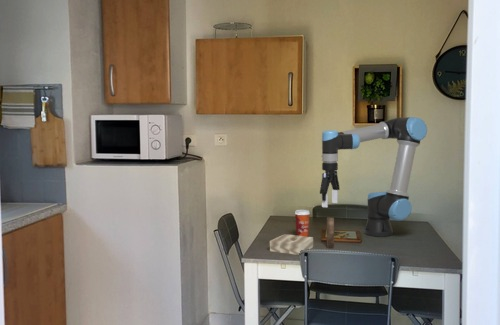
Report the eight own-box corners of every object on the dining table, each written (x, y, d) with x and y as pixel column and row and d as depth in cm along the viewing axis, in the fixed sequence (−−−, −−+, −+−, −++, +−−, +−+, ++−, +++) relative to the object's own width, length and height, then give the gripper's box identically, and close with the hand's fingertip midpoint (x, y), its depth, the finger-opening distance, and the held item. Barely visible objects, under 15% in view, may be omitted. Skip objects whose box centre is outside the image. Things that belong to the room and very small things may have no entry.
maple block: (313, 247, 248) (313, 237, 248) (299, 255, 235) (299, 244, 234) (284, 243, 256) (284, 234, 256) (269, 251, 243) (269, 241, 242)
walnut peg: (335, 247, 248) (334, 217, 246) (332, 248, 245) (332, 218, 243) (328, 246, 249) (328, 216, 248) (325, 248, 246) (325, 218, 245)
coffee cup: (300, 241, 261) (300, 212, 260) (291, 237, 268) (291, 210, 267) (313, 239, 265) (313, 211, 263) (304, 235, 272) (304, 208, 271)
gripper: (331, 159, 256) (331, 200, 258) (312, 164, 234) (312, 208, 236) (345, 160, 252) (345, 201, 254) (327, 164, 230) (327, 209, 232)
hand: (329, 205), depth 245 cm, fingers open, 13 cm apart
